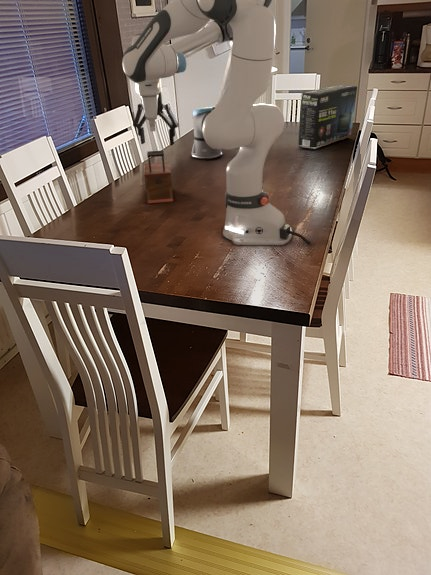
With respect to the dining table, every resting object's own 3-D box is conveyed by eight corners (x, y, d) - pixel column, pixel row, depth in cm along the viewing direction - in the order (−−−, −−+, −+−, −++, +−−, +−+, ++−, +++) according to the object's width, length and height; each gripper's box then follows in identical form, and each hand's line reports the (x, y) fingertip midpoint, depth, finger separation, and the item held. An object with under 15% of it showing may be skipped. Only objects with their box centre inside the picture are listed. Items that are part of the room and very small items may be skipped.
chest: (173, 201, 177) (170, 174, 172) (147, 203, 176) (144, 176, 171) (171, 189, 189) (169, 164, 184) (147, 191, 188) (144, 166, 183)
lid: (170, 175, 171) (168, 152, 167) (144, 177, 170) (141, 154, 166) (169, 164, 184) (167, 142, 179) (144, 166, 183) (142, 144, 178)
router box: (314, 151, 231) (318, 94, 217) (296, 148, 237) (299, 92, 224) (352, 138, 251) (358, 85, 238) (335, 135, 258) (340, 83, 245)
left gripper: (120, 92, 189) (127, 144, 200) (177, 93, 183) (181, 147, 194) (128, 90, 195) (135, 140, 206) (183, 90, 189) (187, 142, 200)
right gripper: (139, 83, 166) (143, 122, 174) (139, 91, 149) (143, 135, 156) (156, 82, 167) (160, 121, 174) (158, 90, 150) (162, 133, 157)
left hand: (157, 144), depth 200 cm, fingers open, 13 cm apart
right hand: (152, 128), depth 165 cm, fingers open, 8 cm apart
